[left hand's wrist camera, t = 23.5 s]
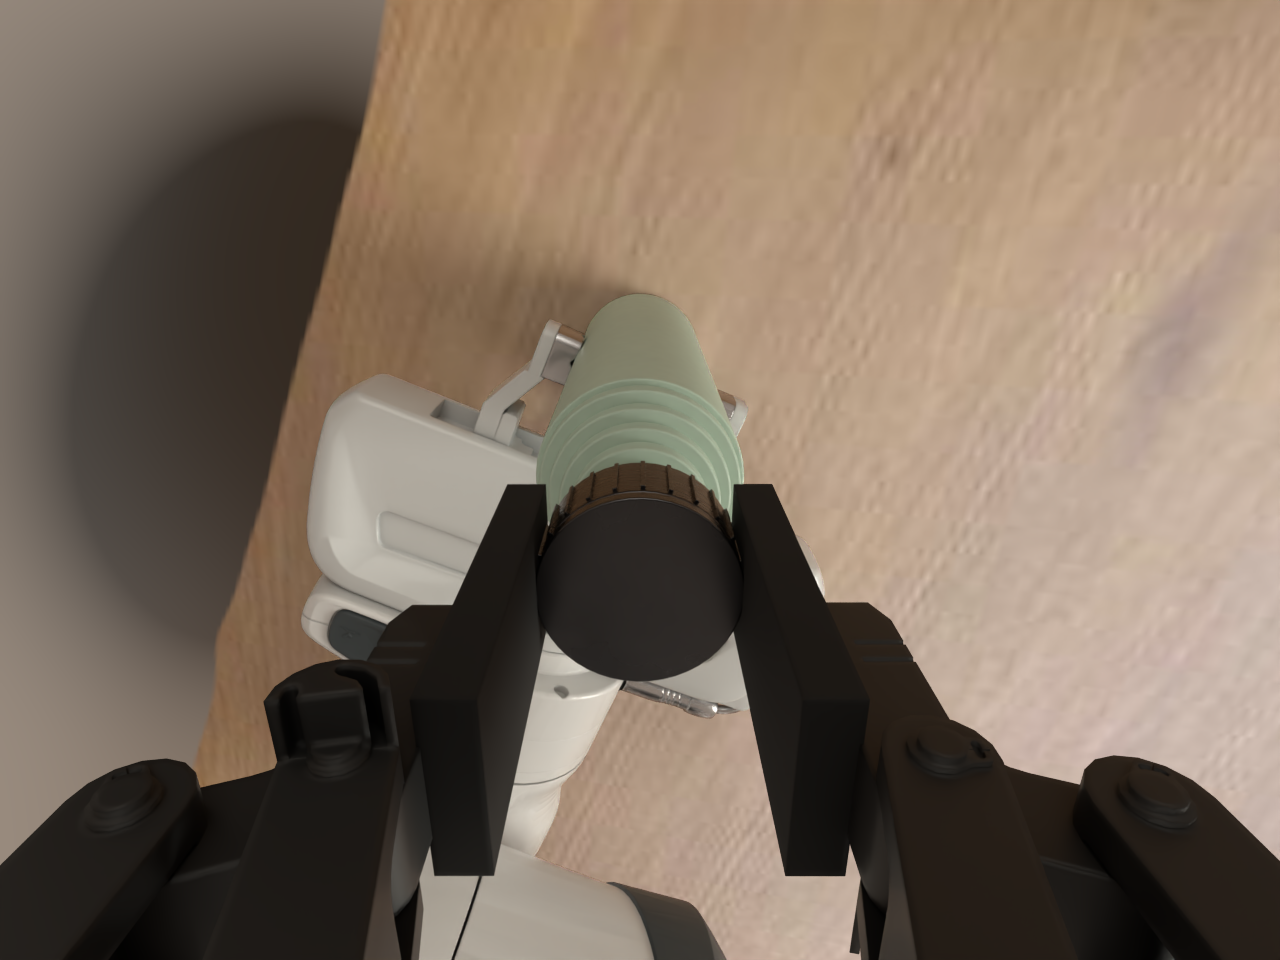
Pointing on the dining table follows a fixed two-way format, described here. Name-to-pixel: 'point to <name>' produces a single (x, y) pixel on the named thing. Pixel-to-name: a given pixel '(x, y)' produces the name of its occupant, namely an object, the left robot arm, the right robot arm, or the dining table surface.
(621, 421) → the bottle
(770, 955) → the dining table surface
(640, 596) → the cap
